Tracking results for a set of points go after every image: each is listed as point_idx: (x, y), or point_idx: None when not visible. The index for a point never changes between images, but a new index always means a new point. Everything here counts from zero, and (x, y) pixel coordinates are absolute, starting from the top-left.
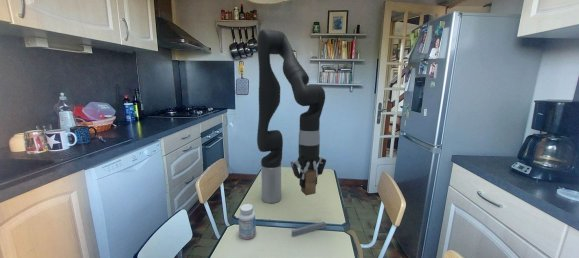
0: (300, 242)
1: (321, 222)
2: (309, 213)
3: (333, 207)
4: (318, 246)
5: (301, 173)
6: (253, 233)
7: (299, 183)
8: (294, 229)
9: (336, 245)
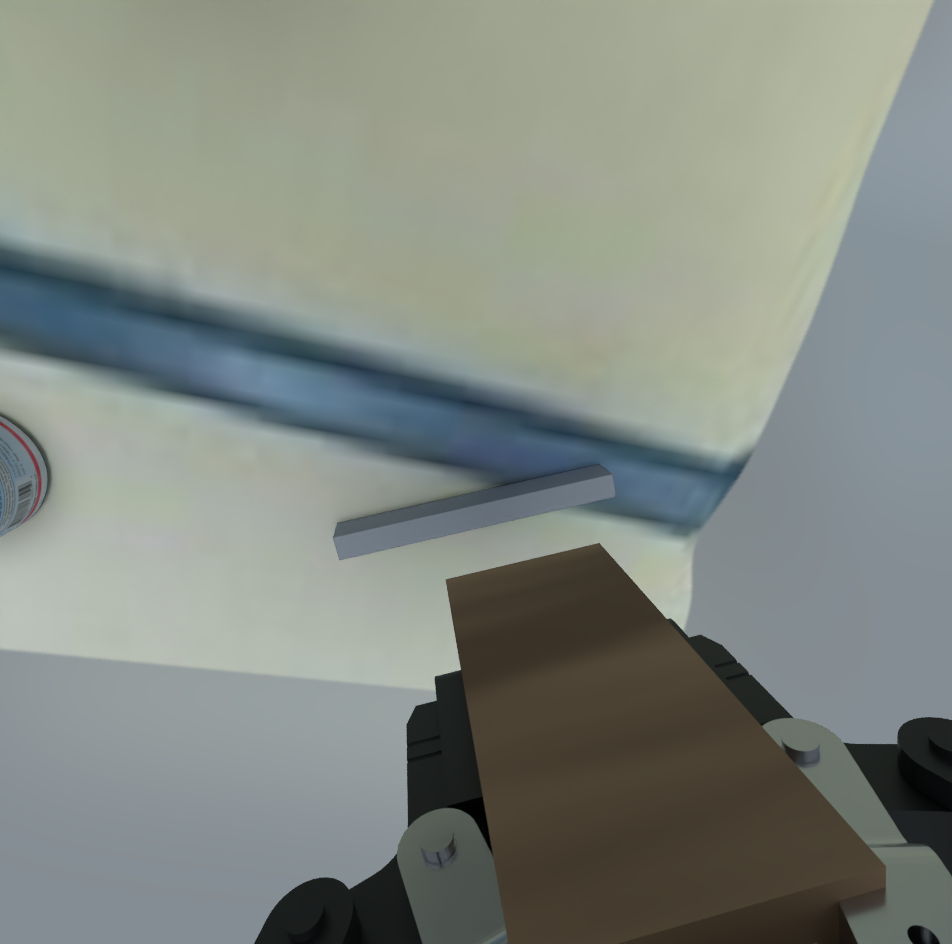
0: (384, 604)
1: (586, 484)
2: (548, 269)
3: (787, 218)
4: None
5: (468, 931)
6: (16, 525)
7: (407, 739)
8: (356, 535)
9: None
